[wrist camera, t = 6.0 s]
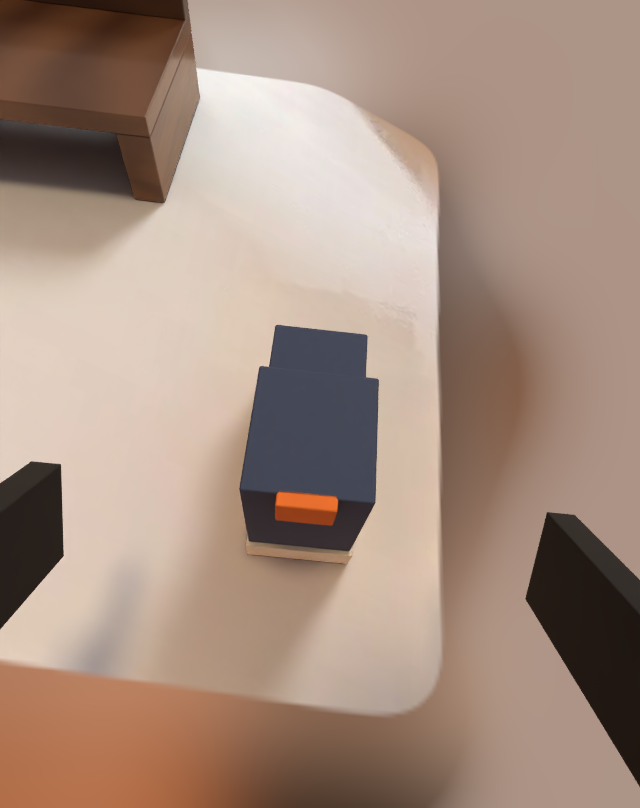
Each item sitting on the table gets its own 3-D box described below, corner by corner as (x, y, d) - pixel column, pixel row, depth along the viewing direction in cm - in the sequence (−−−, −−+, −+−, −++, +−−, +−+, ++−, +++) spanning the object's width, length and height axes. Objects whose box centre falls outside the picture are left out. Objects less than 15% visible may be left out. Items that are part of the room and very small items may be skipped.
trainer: (347, 568, 23) (378, 516, 16) (246, 558, 23) (233, 501, 16) (357, 378, 28) (384, 276, 21) (274, 369, 28) (273, 264, 21)
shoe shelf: (200, 98, 40) (182, -44, 32) (164, 203, 34) (132, 60, 26) (-63, 66, 39) (-145, -86, 32) (-145, 167, 33) (-271, 10, 26)
